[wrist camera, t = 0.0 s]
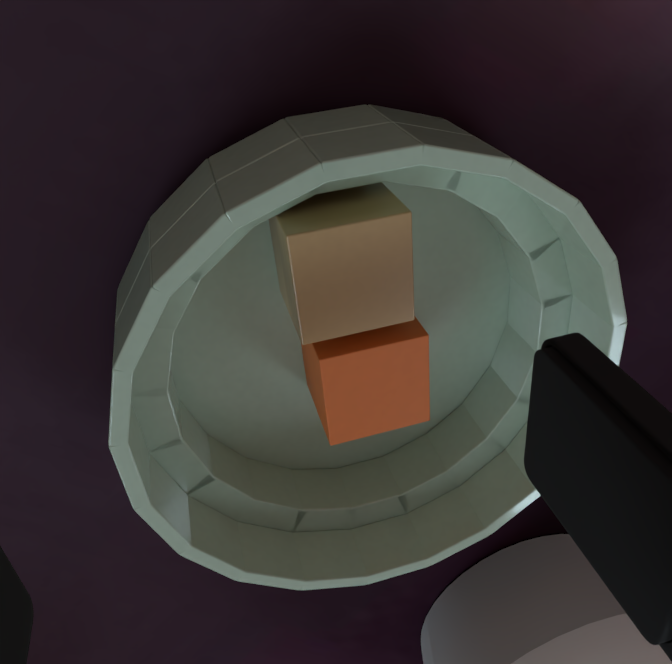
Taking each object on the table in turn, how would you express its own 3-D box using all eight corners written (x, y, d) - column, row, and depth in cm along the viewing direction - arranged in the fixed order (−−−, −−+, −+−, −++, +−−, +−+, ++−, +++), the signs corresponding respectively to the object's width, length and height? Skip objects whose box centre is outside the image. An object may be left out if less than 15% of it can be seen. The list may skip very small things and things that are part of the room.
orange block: (294, 304, 25) (318, 360, 21) (391, 283, 25) (429, 334, 22) (306, 384, 27) (330, 446, 24) (395, 363, 27) (430, 421, 24)
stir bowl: (46, 149, 20) (16, 215, 15) (558, 66, 23) (670, 100, 18) (176, 525, 30) (184, 640, 25) (523, 433, 33) (590, 519, 28)
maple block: (263, 191, 22) (285, 235, 19) (372, 171, 23) (412, 211, 19) (279, 291, 24) (302, 346, 21) (378, 270, 25) (415, 320, 22)
